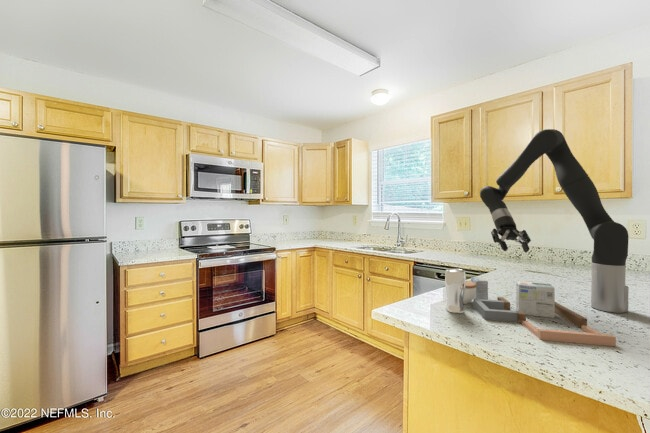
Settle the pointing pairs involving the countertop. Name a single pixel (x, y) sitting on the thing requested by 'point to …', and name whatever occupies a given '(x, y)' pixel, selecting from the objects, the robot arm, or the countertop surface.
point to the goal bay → (573, 335)
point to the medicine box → (480, 288)
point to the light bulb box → (535, 299)
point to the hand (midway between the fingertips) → (516, 250)
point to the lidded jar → (469, 292)
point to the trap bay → (494, 310)
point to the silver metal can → (455, 289)
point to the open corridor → (559, 310)
